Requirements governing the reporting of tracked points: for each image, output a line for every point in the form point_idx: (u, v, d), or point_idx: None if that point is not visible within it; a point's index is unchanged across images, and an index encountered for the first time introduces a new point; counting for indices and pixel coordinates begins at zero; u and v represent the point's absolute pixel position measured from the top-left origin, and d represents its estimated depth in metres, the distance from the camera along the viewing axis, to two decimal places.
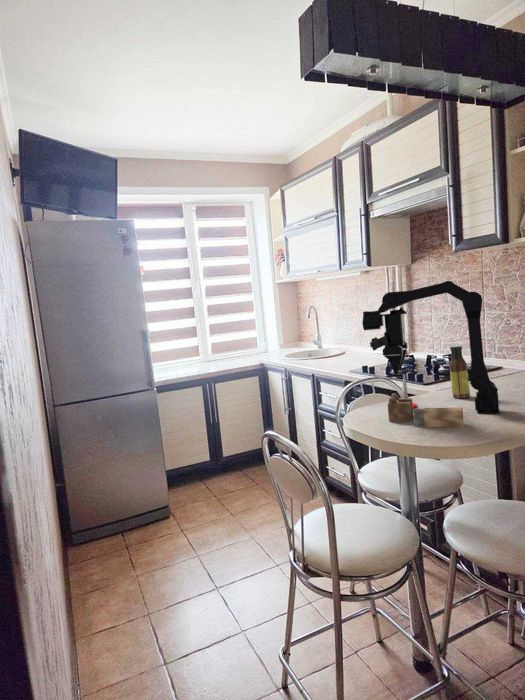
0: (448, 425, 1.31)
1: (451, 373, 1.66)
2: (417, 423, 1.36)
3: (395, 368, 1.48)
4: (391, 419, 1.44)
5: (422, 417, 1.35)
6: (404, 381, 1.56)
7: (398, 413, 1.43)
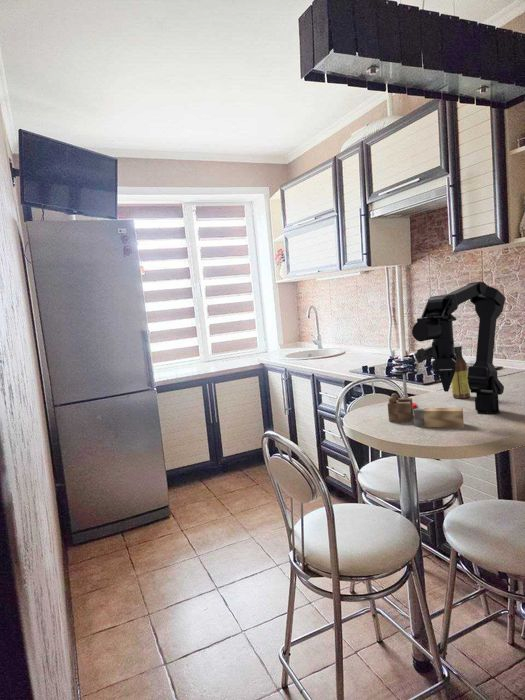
0: (448, 425, 1.31)
1: None
2: (417, 423, 1.36)
3: (446, 384, 1.27)
4: (391, 419, 1.44)
5: (422, 417, 1.35)
6: (404, 381, 1.56)
7: (398, 413, 1.43)
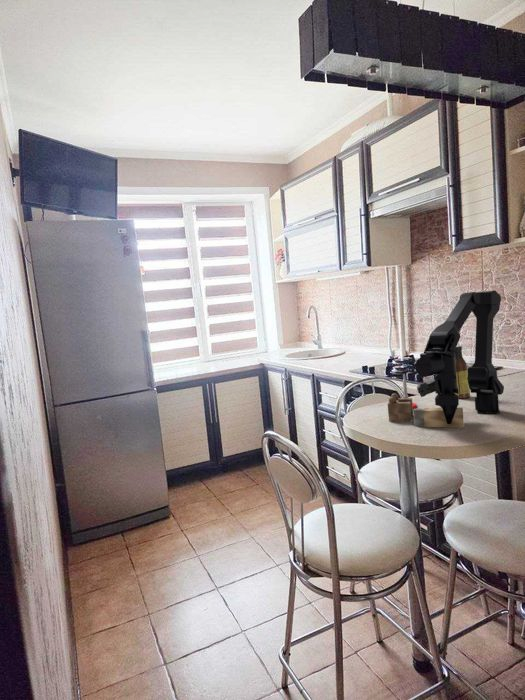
0: (448, 425, 1.31)
1: None
2: (417, 423, 1.36)
3: (449, 417, 1.30)
4: (391, 419, 1.44)
5: (422, 417, 1.35)
6: (404, 381, 1.56)
7: (398, 413, 1.43)
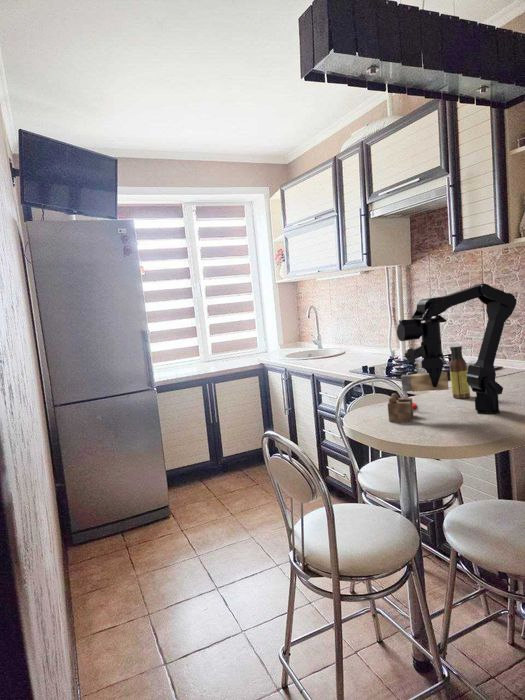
0: (434, 388, 1.39)
1: (451, 373, 1.66)
2: (404, 389, 1.43)
3: (434, 380, 1.37)
4: (391, 419, 1.44)
5: (409, 382, 1.42)
6: None
7: (398, 413, 1.43)
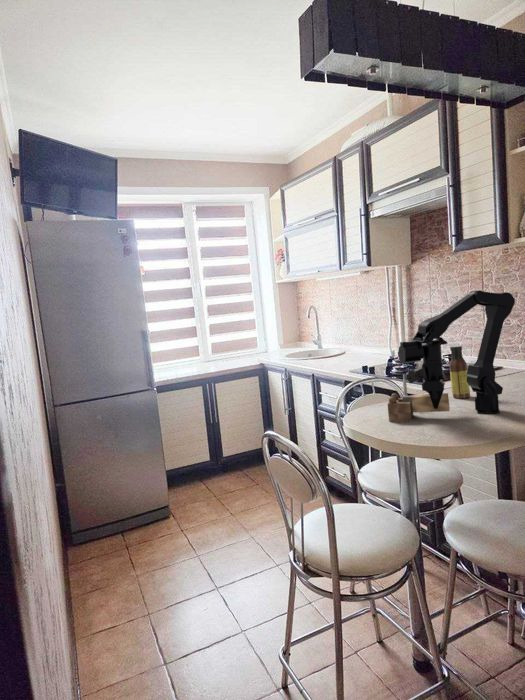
0: (435, 410, 1.40)
1: (451, 373, 1.66)
2: None
3: (435, 402, 1.39)
4: (391, 419, 1.44)
5: None
6: (404, 381, 1.57)
7: (398, 413, 1.43)
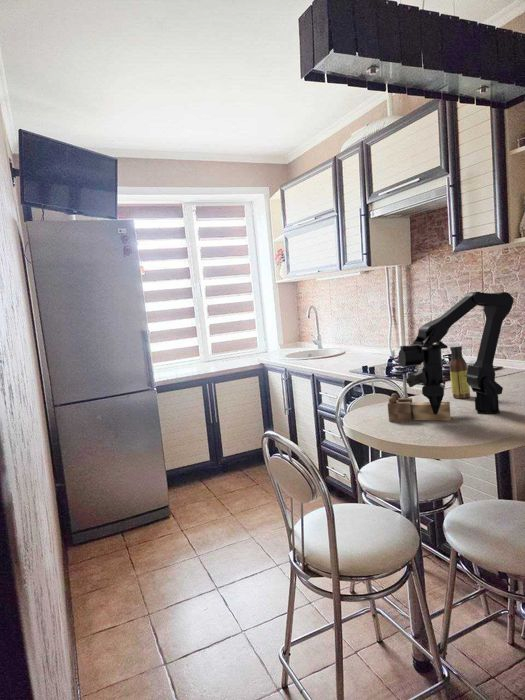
0: (436, 418, 1.40)
1: (451, 373, 1.66)
2: None
3: (435, 408, 1.37)
4: (391, 419, 1.44)
5: (411, 411, 1.44)
6: (404, 381, 1.57)
7: (398, 413, 1.43)
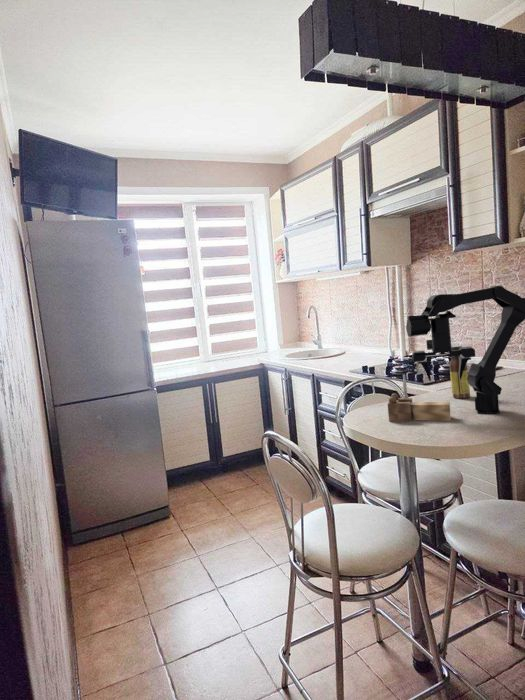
0: (436, 418, 1.40)
1: (451, 373, 1.66)
2: None
3: (427, 374, 1.45)
4: (391, 419, 1.44)
5: (411, 411, 1.44)
6: (404, 381, 1.56)
7: (398, 413, 1.43)
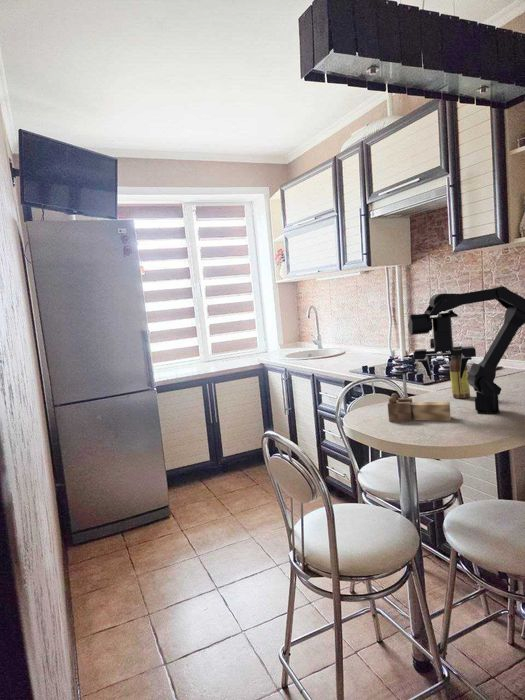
0: (436, 418, 1.40)
1: (451, 373, 1.66)
2: None
3: None
4: (391, 419, 1.44)
5: (411, 411, 1.44)
6: (404, 381, 1.57)
7: (398, 413, 1.43)
